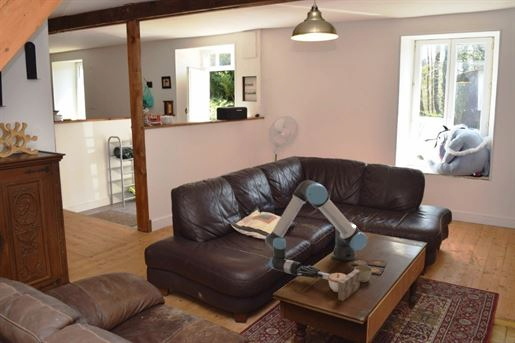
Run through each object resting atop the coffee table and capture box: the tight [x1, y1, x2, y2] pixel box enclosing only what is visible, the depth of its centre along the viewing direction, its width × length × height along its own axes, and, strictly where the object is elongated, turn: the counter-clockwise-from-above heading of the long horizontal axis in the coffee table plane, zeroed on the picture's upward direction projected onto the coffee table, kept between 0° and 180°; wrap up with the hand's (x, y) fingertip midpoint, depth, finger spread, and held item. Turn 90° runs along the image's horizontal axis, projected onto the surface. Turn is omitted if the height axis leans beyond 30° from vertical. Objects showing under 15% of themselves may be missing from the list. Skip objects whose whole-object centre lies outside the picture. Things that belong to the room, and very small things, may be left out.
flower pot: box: [354, 265, 373, 283], centre depth 260 cm, size 10×10×7 cm
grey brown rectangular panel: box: [337, 268, 361, 302], centre depth 244 cm, size 20×3×10 cm, turn 143°
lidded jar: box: [327, 272, 348, 293], centre depth 248 cm, size 11×11×9 cm
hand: (328, 276), depth 251 cm, fingers closed
